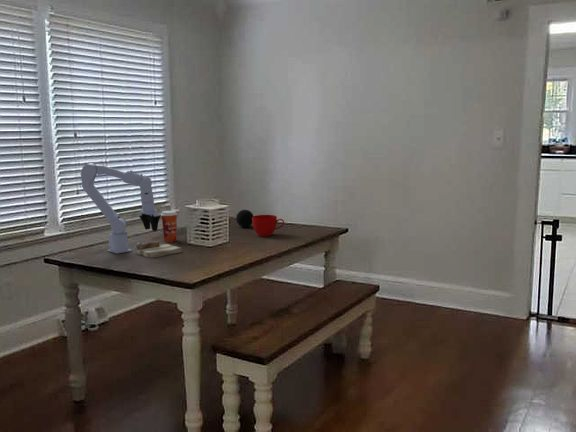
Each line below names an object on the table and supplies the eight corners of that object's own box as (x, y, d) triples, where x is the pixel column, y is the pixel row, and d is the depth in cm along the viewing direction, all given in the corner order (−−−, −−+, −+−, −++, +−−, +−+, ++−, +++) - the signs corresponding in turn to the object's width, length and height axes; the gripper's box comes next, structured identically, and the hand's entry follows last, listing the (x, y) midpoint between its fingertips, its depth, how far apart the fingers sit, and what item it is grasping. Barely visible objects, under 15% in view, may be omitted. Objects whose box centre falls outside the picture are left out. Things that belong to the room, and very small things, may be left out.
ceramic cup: (282, 238, 308) (281, 219, 307) (250, 237, 311) (249, 218, 309) (286, 233, 321) (286, 214, 319) (255, 232, 324) (254, 214, 322)
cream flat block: (135, 253, 279) (135, 248, 279) (165, 247, 290) (165, 243, 289) (151, 257, 269) (151, 253, 269) (181, 252, 280) (181, 247, 279)
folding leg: (138, 249, 276) (138, 244, 276) (135, 248, 278) (135, 243, 278) (159, 245, 284) (159, 240, 283) (157, 245, 286) (156, 239, 285)
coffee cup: (167, 243, 301) (165, 213, 298) (159, 240, 307) (157, 211, 305) (181, 240, 306) (180, 211, 304) (173, 238, 312) (172, 209, 310)
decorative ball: (251, 229, 335) (250, 211, 333) (234, 228, 337) (233, 211, 336) (256, 225, 345) (255, 208, 343) (239, 225, 347) (239, 208, 345)
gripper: (162, 201, 279) (166, 229, 282) (148, 199, 290) (152, 226, 293) (148, 203, 275) (152, 232, 277) (135, 201, 286) (138, 229, 288)
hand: (151, 229), depth 285 cm, fingers open, 7 cm apart
